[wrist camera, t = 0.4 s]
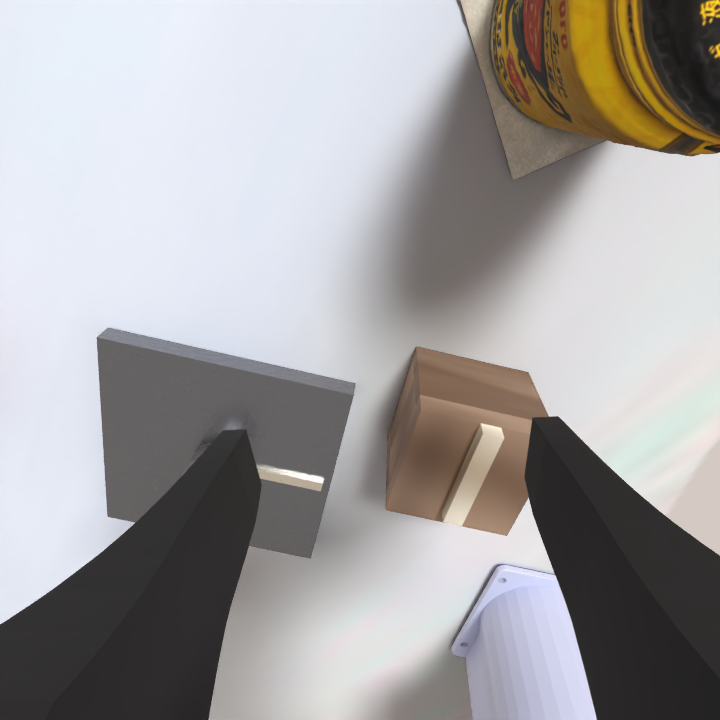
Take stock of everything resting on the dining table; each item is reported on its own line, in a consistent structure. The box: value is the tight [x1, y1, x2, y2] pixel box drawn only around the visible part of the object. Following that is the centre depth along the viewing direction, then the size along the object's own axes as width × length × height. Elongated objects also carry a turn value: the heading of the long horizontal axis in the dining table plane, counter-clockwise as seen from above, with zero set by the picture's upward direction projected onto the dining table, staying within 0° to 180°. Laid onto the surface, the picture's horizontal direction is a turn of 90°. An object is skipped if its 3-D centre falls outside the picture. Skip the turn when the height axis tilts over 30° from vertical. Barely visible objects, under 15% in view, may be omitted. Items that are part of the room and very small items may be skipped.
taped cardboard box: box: [385, 347, 549, 536], centre depth 21 cm, size 5×5×6 cm
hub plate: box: [97, 328, 355, 558], centre depth 24 cm, size 12×12×4 cm
